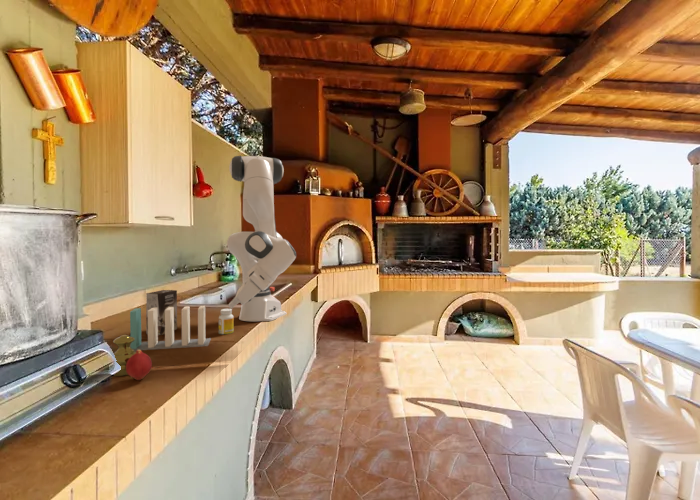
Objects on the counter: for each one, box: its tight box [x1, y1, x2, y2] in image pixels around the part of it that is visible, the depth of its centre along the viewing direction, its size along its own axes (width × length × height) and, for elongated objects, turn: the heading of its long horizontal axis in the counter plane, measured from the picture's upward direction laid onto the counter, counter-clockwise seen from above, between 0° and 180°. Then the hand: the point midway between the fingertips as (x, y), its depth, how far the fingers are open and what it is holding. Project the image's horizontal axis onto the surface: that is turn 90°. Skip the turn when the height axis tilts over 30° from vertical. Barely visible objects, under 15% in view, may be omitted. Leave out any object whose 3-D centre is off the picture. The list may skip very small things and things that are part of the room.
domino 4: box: [181, 305, 191, 346], centre depth 119 cm, size 2×5×12 cm, turn 15°
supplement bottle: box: [218, 308, 235, 335], centre depth 133 cm, size 5×5×10 cm
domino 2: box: [147, 308, 159, 348], centre depth 117 cm, size 2×5×12 cm, turn 14°
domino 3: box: [164, 307, 175, 347], centre depth 118 cm, size 2×5×12 cm, turn 15°
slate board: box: [130, 337, 212, 351], centre depth 118 cm, size 25×9×1 cm, turn 105°
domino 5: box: [197, 305, 206, 345], centre depth 121 cm, size 2×5×12 cm, turn 15°
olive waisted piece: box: [112, 334, 136, 377], centre depth 97 cm, size 7×7×10 cm
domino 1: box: [129, 307, 142, 349], centre depth 115 cm, size 2×5×12 cm, turn 15°
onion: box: [126, 350, 153, 381], centre depth 92 cm, size 6×6×8 cm
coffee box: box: [145, 289, 178, 336], centre depth 133 cm, size 9×6×16 cm
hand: (229, 306), depth 122 cm, fingers closed
